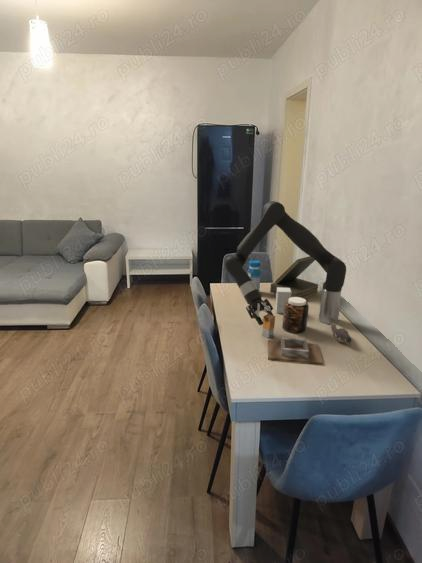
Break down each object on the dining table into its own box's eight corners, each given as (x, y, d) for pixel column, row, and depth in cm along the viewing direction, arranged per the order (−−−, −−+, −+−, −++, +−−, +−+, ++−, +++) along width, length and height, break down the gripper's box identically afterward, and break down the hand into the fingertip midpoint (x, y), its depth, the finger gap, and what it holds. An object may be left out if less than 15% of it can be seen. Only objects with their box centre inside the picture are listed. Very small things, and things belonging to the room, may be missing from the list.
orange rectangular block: (260, 335, 173) (262, 315, 170) (265, 332, 175) (267, 313, 172) (269, 339, 169) (271, 319, 166) (274, 336, 172) (276, 316, 169)
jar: (306, 334, 174) (310, 305, 170) (281, 332, 177) (284, 303, 172) (305, 324, 185) (309, 296, 181) (282, 322, 188) (285, 294, 183)
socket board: (317, 346, 164) (318, 338, 163) (322, 364, 149) (323, 356, 148) (267, 341, 167) (268, 333, 165) (268, 359, 152) (268, 350, 150)
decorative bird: (341, 349, 162) (343, 339, 160) (320, 325, 185) (321, 316, 183) (355, 349, 162) (357, 339, 161) (332, 325, 186) (334, 316, 184)
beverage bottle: (255, 295, 223) (257, 264, 217) (243, 292, 228) (245, 261, 222) (262, 292, 230) (264, 261, 223) (250, 289, 234) (252, 258, 228)
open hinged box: (292, 285, 244) (295, 249, 236) (317, 293, 230) (322, 255, 223) (269, 292, 230) (273, 254, 222) (295, 302, 216) (300, 261, 208)
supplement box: (288, 308, 205) (290, 287, 201) (289, 314, 198) (291, 292, 194) (274, 308, 205) (276, 286, 201) (275, 313, 198) (277, 291, 194)
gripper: (245, 292, 167) (262, 323, 163) (264, 285, 177) (281, 314, 173) (235, 299, 173) (253, 329, 169) (255, 292, 182) (271, 321, 178)
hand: (267, 322), depth 171 cm, fingers open, 8 cm apart
